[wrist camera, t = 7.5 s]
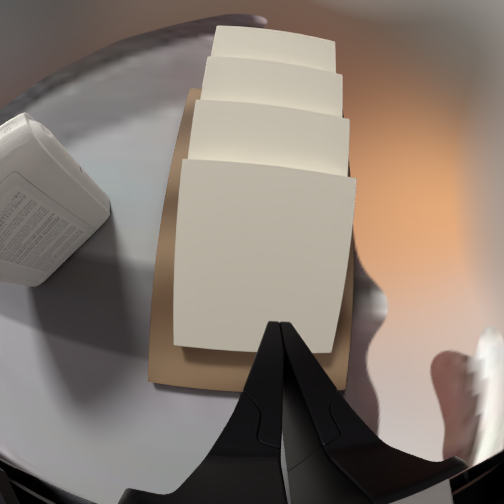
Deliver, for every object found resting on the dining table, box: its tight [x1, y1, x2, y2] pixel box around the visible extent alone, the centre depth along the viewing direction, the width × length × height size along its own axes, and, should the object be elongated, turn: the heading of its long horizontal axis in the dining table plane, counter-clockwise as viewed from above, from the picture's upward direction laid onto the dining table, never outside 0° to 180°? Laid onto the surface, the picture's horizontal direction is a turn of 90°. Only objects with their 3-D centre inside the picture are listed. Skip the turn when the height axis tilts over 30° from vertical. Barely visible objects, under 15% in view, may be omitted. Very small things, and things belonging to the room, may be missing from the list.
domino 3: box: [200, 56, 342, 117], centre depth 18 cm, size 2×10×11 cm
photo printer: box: [0, 113, 110, 287], centre depth 13 cm, size 10×4×12 cm, turn 131°
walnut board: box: [148, 89, 354, 392], centre depth 20 cm, size 24×14×1 cm, turn 176°
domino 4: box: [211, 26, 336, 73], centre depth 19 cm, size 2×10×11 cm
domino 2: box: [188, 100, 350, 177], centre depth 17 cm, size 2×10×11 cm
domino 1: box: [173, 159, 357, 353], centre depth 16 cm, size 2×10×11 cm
